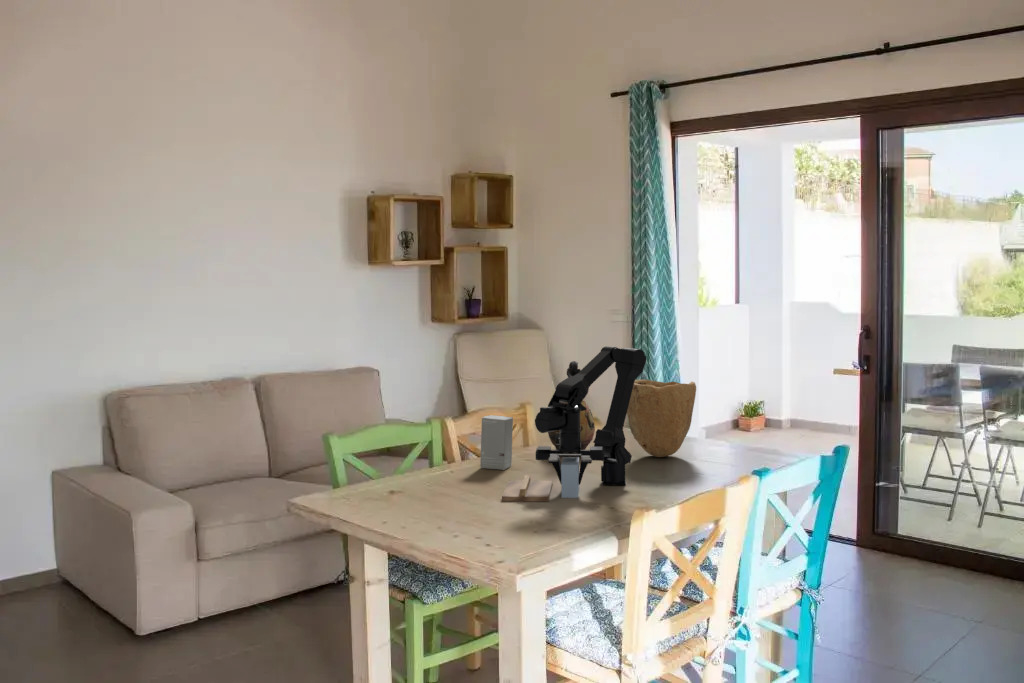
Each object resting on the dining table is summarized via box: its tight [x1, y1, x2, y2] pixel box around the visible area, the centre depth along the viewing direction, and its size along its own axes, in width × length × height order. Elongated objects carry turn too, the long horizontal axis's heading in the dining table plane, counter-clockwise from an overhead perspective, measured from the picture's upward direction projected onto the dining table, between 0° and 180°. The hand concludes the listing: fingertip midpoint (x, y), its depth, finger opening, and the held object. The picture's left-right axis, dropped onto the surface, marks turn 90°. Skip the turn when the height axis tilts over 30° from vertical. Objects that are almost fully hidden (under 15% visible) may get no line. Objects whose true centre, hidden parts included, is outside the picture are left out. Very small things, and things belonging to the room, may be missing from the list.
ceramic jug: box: [547, 360, 596, 454], centre depth 322 cm, size 17×15×30 cm
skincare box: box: [479, 414, 514, 471], centre depth 302 cm, size 8×7×16 cm
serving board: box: [501, 474, 554, 502], centre depth 271 cm, size 12×18×3 cm
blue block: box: [560, 457, 580, 499], centre depth 269 cm, size 4×10×9 cm, turn 174°
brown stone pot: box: [626, 379, 697, 458], centre depth 312 cm, size 22×22×25 cm
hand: (570, 484), depth 269 cm, fingers closed on blue block, 4 cm apart
